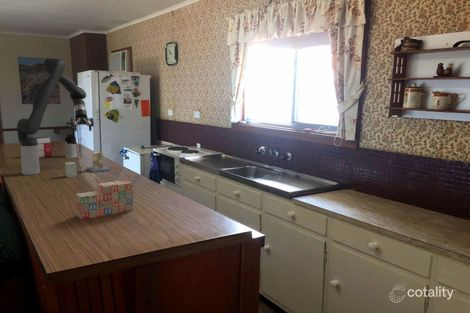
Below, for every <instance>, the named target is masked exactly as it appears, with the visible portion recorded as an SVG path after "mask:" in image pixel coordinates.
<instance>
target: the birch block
mask: <svg viewBox="0 0 470 313" xmlns="http://www.w3.org/2000/svg"><path fill="white" fill-rule="evenodd" d="M103 153H104V152H102V151H92V152H91V154H92V167H93V168H95V169H99V168H103V165H104V156H103Z"/></svg>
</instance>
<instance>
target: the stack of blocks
mask: <svg viewBox="0 0 470 313" xmlns="http://www.w3.org/2000/svg"><path fill="white" fill-rule="evenodd" d="M97 186H98V188H97V189H98V190H95V191H87V192H82V193H81V192H80V193H75V202H76V203H75V204H76V205H75V206H76V216H77V217H78V218H79V219H80V220H85V219H92V218H97V217H104V216H109V215H114V214H115V215H116V214H120V213H121V214H122V213H127V212H131V211H134V203H133V197H134V195H133V194H134V193H133V191H134V190H133V182H131V181H129V180H115V181H110V182H101V183H98V184H97Z"/></svg>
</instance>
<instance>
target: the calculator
mask: <svg viewBox="0 0 470 313" xmlns="http://www.w3.org/2000/svg"><path fill="white" fill-rule="evenodd" d="M34 138H35V139H36V140H37V141H38V154H39V159H40V158H49V157H52V143H51V137H50V136H41V137H40V136H39V137H34Z"/></svg>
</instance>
